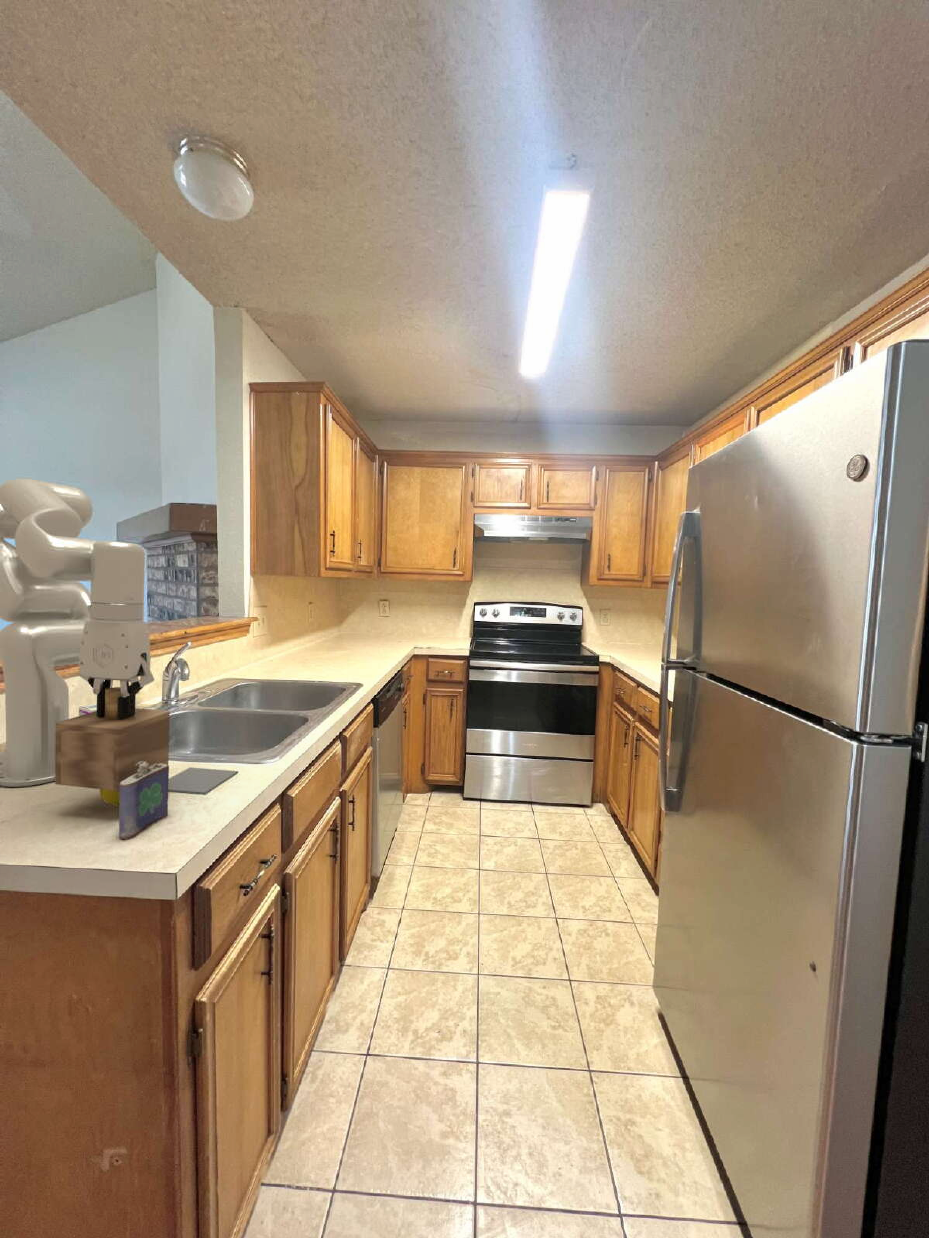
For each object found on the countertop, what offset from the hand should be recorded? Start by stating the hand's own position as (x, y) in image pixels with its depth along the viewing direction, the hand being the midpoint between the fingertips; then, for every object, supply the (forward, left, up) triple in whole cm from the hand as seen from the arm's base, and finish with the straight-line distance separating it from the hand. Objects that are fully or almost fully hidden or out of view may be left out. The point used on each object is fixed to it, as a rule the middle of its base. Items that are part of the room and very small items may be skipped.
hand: (116, 715), depth 84 cm
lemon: (+1, 0, -17) cm, 17 cm away
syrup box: (-14, +12, -17) cm, 25 cm away
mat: (+7, +12, -16) cm, 21 cm away
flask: (+10, -6, -17) cm, 20 cm away
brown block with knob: (0, 0, -11) cm, 11 cm away
